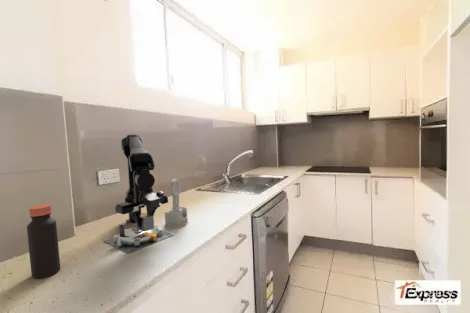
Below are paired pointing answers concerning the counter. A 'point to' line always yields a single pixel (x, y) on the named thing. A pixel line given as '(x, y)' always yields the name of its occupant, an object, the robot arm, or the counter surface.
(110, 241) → the cover plate
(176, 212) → the engine component
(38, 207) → the bottle
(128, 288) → the counter surface
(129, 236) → the sprocket
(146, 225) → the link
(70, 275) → the counter surface
